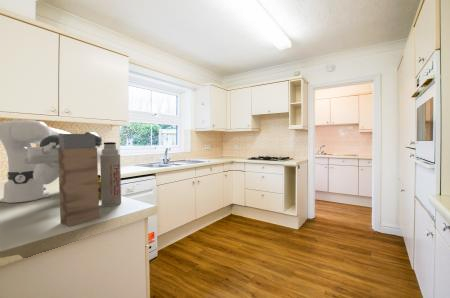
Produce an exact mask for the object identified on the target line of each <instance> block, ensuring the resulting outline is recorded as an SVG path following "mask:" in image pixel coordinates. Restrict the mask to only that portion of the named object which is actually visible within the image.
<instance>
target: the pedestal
mask: <svg viewBox="0 0 450 298" xmlns="http://www.w3.org/2000/svg"><path fill="white" fill-rule="evenodd" d="M58 164H59V177H58V185H59V186H58V188H59V189H58V190H59V216H60V217H59V218H60V224H62V225H64V226H66V227H72V226H76V225H79V224H82V223H85V222H89V221H93V220H97V219H99V218H100V208H99V207H100V203H99V198H98V175H99V172H98V171H99V170H98V169H99V167H98V166H99V164H98V163H97V148H70V149H59V148H58Z"/></svg>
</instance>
